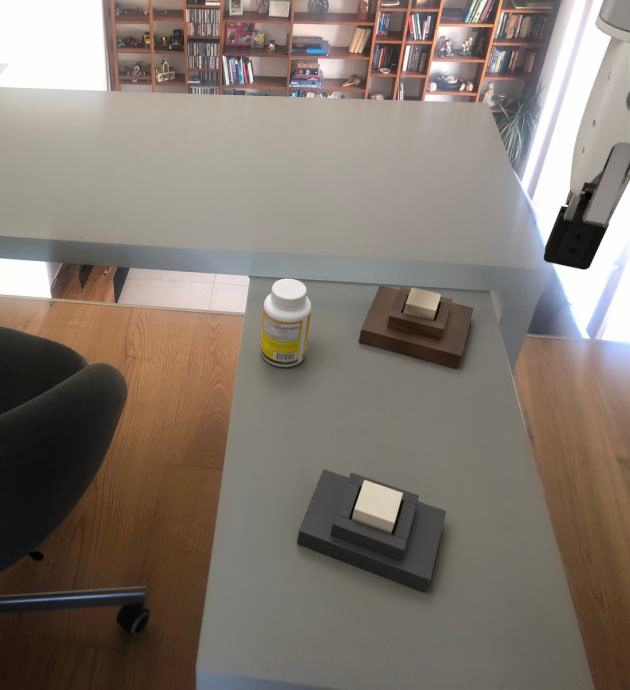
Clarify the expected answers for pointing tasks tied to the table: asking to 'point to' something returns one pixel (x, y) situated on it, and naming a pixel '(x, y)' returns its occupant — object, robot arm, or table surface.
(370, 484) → the near key
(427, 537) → the stepped wall plate
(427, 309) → the far key
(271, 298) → the supplement bottle
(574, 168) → the robot arm
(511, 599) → the table surface
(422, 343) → the brown stepped switch base
